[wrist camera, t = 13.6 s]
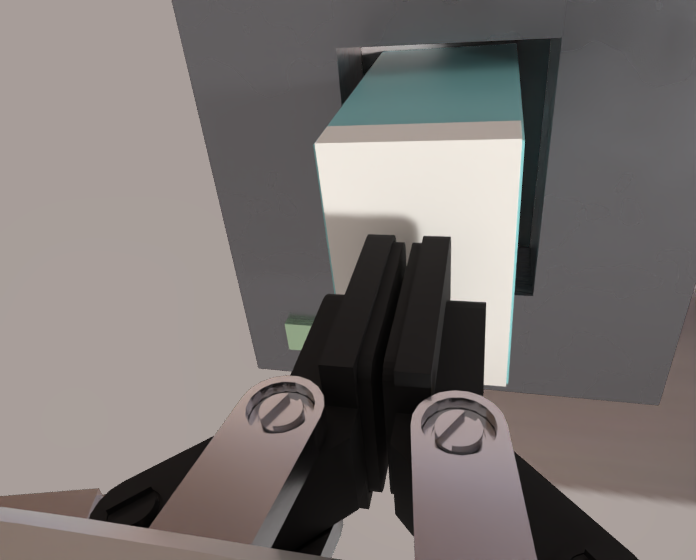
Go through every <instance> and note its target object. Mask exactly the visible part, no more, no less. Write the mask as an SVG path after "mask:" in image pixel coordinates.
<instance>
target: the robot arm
mask: <svg viewBox="0 0 696 560" xmlns="http://www.w3.org/2000/svg"><path fill="white" fill-rule="evenodd" d="M450 297H451V237H448V236H423V239H422V243H412V247H411V251H410V255H409V259H408V263H407V266H406V245H405V242H396V237H395V235H378V234H368V235H367V237H366V240H365V242H364V245H363V248H362V250H361V253H360V256H359V258H358V261H357V263H356V266H355V269H354V271H353V274H352V277H351V279H350V282H349V284H348V287H347V290H346V292H345V295H343V294H327V295H325V297H324V298H323V300H322V303H321V305H320V307H319V310H318V312H317V314H316V317H315V319H314V321H313V324H312V326H311V328H310V331H309V333H308V335H307V338H306V340H305V342H304V345H303V347H302V349H301V352H300V354H299V356H298V359H297V361H296V363H295V366H294V368H293V370H292V373H291V375H290V376H287V375H286V376H279V377H273V378H270V379H267V380H265V381H262V382H260V383H258V384H257V385H255V386H253V387H252V388H250V389H249V390H248V391H247V392H246V393H245V394H244V396H243V397H242V398H241V399H240V400H239V402H238V403H237V405H236V406H235V407H234V409H233V410H232V412H231V413H230V415H229V416H228V418H227V419H226V420H225V421H224V423H223V424H222V426H221V427H220V429H219V430H218V431H217V433H216V434H215V436H213V437H211V438H209V439H207V440H205V441H203V442H201V443H199V444H197V445H195V446H193V447H191V448H189V449H187V450H185V451H183V452H181V453H179V454H177V455H175V456H173V457H171V458H169V459H167V460H165V461H163V462H161V463H159V464H157V465H155V466H153V467H152V468H150V469H147V470H145V471H143V472H142V473H139V474H138V475H136V476H134V477H132V478H130V479H128V480H126V481H124V482H122V483H121V484H119V485H118V486H116V487H114V488H113V489H111V490H110V491H109V492H108V493H107V494H104V495H102V493H101V491H100V489H99V488H96V489H83V490H71V491H59V492H46V493H34V494H21V495H9V496H0V560H340V559H334V558H332V555H333V553H334V550H335V548H336V546H337V543H338V541H339V538H340V536H341V532H342V528H343V519H344V518H345V517H347V516H349V515H350V514H351V513H353V512H355V511H357V510H358V509H359V508H364V509H369V506H370V501H371V497H372V492H373V491H376V492H382V491H383V489H384V484H385V479H386V474H387V469H388V466H389V479H390V491H391V494H394V502H395V514H396V516H397V517H398V518H399V519H400V521H401V522H402V523H403V524H404V525H405V527H406V528H407V529H408V530H409V532H410V533H411V534H412V535H413V536H414V550H415V560H638V559H637V558H636V557H635V555H634V554H632V553H631V552H630V551H629V550H628V549H627V548H625V547H624V546H623V545H622V544H621V543H620V542H618V541H617V540H616V539H615V538H614V537H612V535H610V534H609V533H608V532H607V531H606V530H604V529H603V528H602V527H601V526H600V525H599V524H598V523H596V522H595V521H594V520H593V519H592V518H591V517H589V516H588V515H587V514H586V513H585V512H584V511H582V510H581V509H580V508H579V507H578V506H577V505H576V504H574V503H573V502H572V501H571V500H570V499H569V498H567V497H566V496H565V495H564V494H563V493H562V492H561V491H559V490H558V489H557V488H556V487H555V486H554V485H552V484H551V483H550V482H549V481H548V480H547V479H545V478H544V477H543V476H542V475H541V474H540V473H538V472H537V471H536V470H535V469H534V468H533V467H532V466H530V465H529V464H528V463H527V462H526V461H525V460H523V459H522V458H521V457H520V456H519V455H518V454H516V453H515V452H514V451H513V446H512V441H511V437H510V432H509V428H508V424H507V421H506V419H505V417H504V414H503V413H502V411H501V410H500V409H499V408H498V407H497V406H496V405H495V404H494V403H493V402H491V401H489V400H488V399H486V398H485V397H483V392H484V360H485V328H486V302H472V301H454V300H450Z"/></svg>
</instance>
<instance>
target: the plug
mask: <svg viewBox="0 0 696 560" xmlns="http://www.w3.org/2000/svg"><path fill="white" fill-rule="evenodd" d="M313 148H314V155H315V162H316V169H317V176H318V183H319V190H320V197H321V204H322V211H323V218H324V225H325V232H326V239H327V246H328V253H329V260H330V266H331V273H332V280H333V287H334V294H343V295H345V292H346V290H347V287H348V284H349V282H350V279H351V277H352V274H353V271H354V269H355V266H356V263H357V261H358V258H359V256H360V253H361V250H362V248H363V245H364V242H365V240H366V237H367V235H368V234H378V235H395V237H396V242H405V245H406V266H407V263H408V259H409V255H410V251H411V247H412V243H422V239H423V236H448V237H451V297H450V300H454V301H472V302H486V328H485V360H484V385H492V386H504V387H506V384H508V379H509V365H510V350H511V336H512V321H513V307H514V292H515V278H516V263H517V249H518V235H519V220H520V206H521V191H522V177H523V162H524V148H525V134H524V123H523V111H522V99H521V87H520V76H519V64H518V52H517V43H513V44H497V45H481V46H464V47H448V48H432V49H415V50H399V51H383V52H382V53H381V54H380V56H379V57H378V58H377V60H376V61H375V62H374V64H373V65H372V66H371V68H370V69H369V70H368V72H367V73H366V75H365V76H364V77H363V79H362V80H361V81H360V83H359V84H358V85H357V87H356V88H355V89H354V91H353V92H352V93H351V95H350V96H349V97H348V99H347V100H346V101H345V103H344V104H343V105H342V107H341V108H340V109H339V111H338V112H337V114H336V115H335V116H334V118H333V119H332V120H331V122H330V123H329V124H328V126H327V127H326V128H325V130H324V131H323V132H322V134H321V135H320V136H319V138H318V139H317V140H316V142H315V143H314V144H313Z"/></svg>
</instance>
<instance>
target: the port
mask: <svg viewBox="0 0 696 560" xmlns="http://www.w3.org/2000/svg"><path fill="white" fill-rule="evenodd" d="M172 3H173V8H174V12H175V17H176V21H177V25H178V29H179V33H180V38H181V42H182V46H183V50H184V55H185V59H186V63H187V67H188V72H189V76H190V80H191V84H192V89H193V93H194V97H195V101H196V106H197V110H198V114H199V118H200V122H201V126H202V131H203V135H204V139H205V143H206V148H207V152H208V156H209V160H210V165H211V169H212V173H213V178H214V182H215V186H216V190H217V194H218V199H219V202H220V207H221V211H222V215H223V220H224V224H225V228H226V232H227V237H228V241H229V245H230V250H231V254H232V258H233V262H234V266H235V270H236V275H237V279H238V283H239V288H240V292H241V296H242V300H243V305H244V309H245V313H246V317H247V322H248V326H249V330H250V334H251V338H252V343H253V347H254V351H255V355H256V359H257V364H258V367H259V368H261V369H271V370H282V371H292V370H293V368H294V366H295V363H296V361H297V359H298V356H299V354H300V352H301V349H302V347H303V345H304V342H305V340H306V338H307V335H308V333H309V331H310V328H311V326H312V324H313V321H314V319H315V317H316V314H317V312H318V310H319V307H320V305H321V303H322V300H323V298H324V297H325V295H327V294H334V287H333V280H332V273H331V266H330V260H329V253H328V246H327V239H326V232H325V225H324V218H323V211H322V204H321V197H320V190H319V183H318V176H317V169H316V162H315V155H314V148H313V144H314V143H315V142H316V140H317V139H318V138H319V136H320V135H321V134H322V132H323V131H324V130H325V128H326V127H327V126H328V124H329V123H330V122H331V120H332V119H333V118H334V116H335V115H336V114H337V112H338V111H339V109H340V108H341V107H342V105H343V104H344V103H345V101H346V100H347V99H348V97H349V96H350V95H351V93H352V92H353V91H354V89H355V88H356V87H357V85H358V84H359V83H360V81H361V80H362V79H363V67H362V54H361V47H373V46H395V45H416V44H438V43H459V42H481V41H502V40H524V39H545V38H551V43H550V52H549V62H548V72H547V82H546V92H545V101H544V111H543V121H542V131H541V141H540V151H539V160H538V170H537V180H536V190H535V200H534V210H533V219H532V229H531V239H530V247H518V249H517V263H516V278H515V292H514V307H513V321H512V336H511V350H510V365H509V379H508V384H506V387H504V386H492V385H484V389H487V390H498V391H509V392H520V393H530V394H541V395H552V396H563V397H574V398H584V399H595V400H606V401H617V402H627V403H638V404H649V405H659V403H660V400H661V397H662V393H663V390H664V387H665V383H666V380H667V377H668V373H669V370H670V367H671V363H672V360H673V357H674V353H675V350H676V347H677V343H678V340H679V337H680V333H681V330H682V327H683V324H684V320H685V317H686V314H687V310H688V307H689V304H690V300H691V297H692V294H693V290H694V287H695V284H696V0H172Z"/></svg>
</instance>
